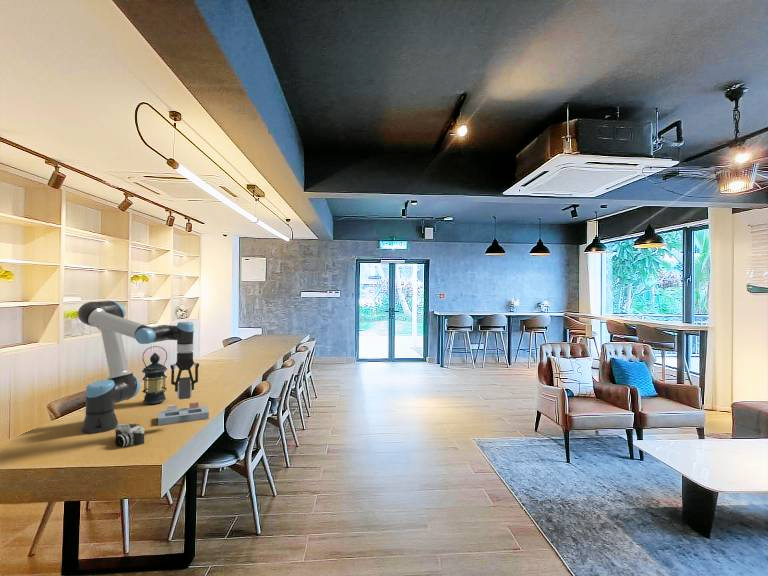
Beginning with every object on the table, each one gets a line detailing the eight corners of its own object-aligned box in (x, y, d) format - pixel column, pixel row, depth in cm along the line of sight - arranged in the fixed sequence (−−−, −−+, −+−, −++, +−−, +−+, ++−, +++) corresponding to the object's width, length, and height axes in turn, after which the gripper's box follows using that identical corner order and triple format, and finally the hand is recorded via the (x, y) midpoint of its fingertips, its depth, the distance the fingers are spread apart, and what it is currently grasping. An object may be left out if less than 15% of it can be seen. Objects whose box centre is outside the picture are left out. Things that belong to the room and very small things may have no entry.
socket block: (158, 426, 208) (158, 413, 208) (158, 418, 220) (158, 405, 220) (208, 419, 219) (208, 406, 219) (206, 412, 232) (206, 400, 232)
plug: (179, 399, 205) (179, 379, 205) (178, 397, 209) (179, 377, 209) (190, 398, 208) (190, 378, 207) (189, 395, 212) (189, 376, 212)
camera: (103, 446, 182) (104, 424, 182) (121, 439, 190) (121, 418, 190) (130, 451, 177) (130, 428, 177) (147, 444, 185) (147, 422, 185)
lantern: (137, 406, 243) (137, 348, 243) (147, 400, 256) (147, 345, 256) (162, 405, 244) (162, 347, 245) (171, 399, 258) (171, 344, 258)
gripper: (165, 354, 201) (164, 401, 201) (204, 351, 210) (204, 396, 210) (165, 352, 207) (164, 397, 207) (203, 349, 216) (202, 393, 216)
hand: (184, 396), depth 208 cm, fingers closed on plug, 5 cm apart
